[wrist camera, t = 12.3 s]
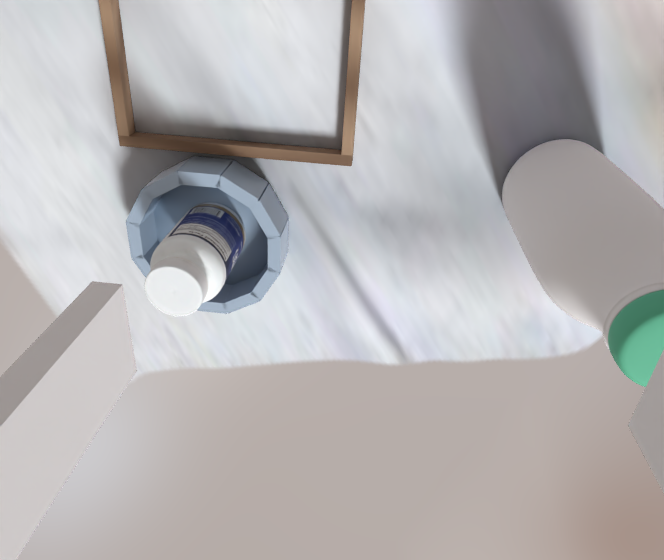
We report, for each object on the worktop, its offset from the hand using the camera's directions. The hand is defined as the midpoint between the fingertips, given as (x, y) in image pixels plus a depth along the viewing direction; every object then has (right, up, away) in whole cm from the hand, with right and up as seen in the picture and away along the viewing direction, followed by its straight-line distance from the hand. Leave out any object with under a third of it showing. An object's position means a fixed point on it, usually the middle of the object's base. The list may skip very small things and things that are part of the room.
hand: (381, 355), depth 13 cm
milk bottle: (+15, +9, +27) cm, 32 cm away
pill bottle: (-11, +6, +31) cm, 33 cm away
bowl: (-11, +6, +31) cm, 33 cm away
